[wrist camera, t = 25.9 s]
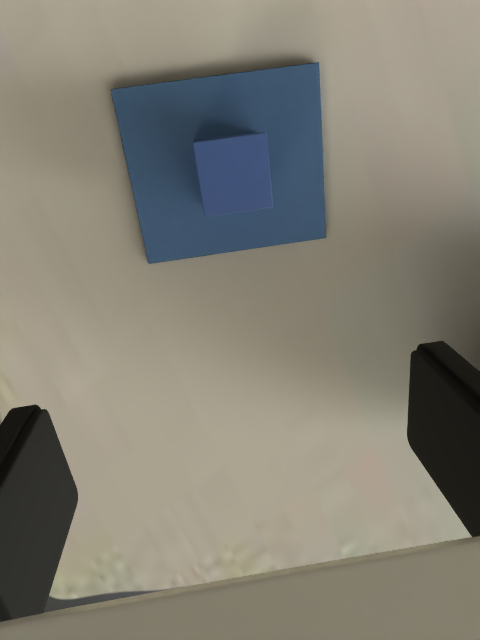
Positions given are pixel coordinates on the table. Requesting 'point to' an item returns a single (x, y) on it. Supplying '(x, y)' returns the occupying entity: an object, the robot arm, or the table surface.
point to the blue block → (233, 173)
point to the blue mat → (218, 121)
